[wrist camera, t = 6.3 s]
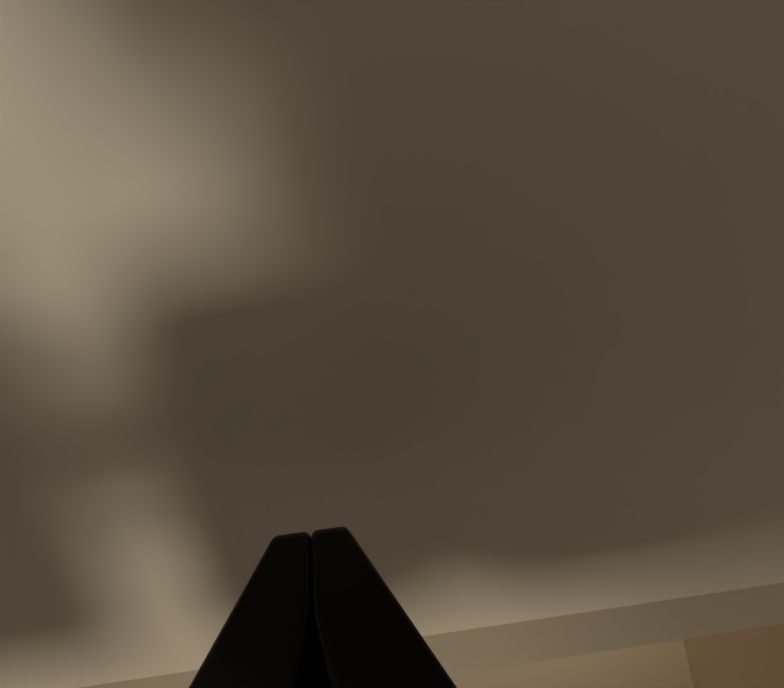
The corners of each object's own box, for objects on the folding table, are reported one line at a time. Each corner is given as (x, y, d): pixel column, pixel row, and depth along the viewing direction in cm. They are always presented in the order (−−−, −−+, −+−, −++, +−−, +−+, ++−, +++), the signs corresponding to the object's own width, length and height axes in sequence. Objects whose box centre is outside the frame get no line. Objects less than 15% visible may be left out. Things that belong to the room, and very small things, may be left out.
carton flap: (1200, -197, 6) (1154, -193, 7) (-1040, -58, 5) (-957, -60, 5) (866, 570, 12) (850, 550, 12) (-267, 738, 11) (-249, 711, 11)
